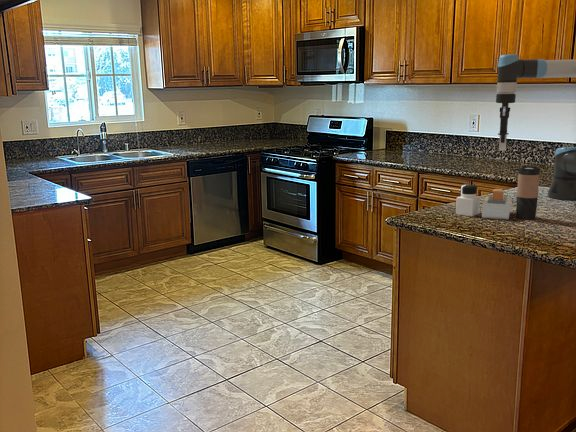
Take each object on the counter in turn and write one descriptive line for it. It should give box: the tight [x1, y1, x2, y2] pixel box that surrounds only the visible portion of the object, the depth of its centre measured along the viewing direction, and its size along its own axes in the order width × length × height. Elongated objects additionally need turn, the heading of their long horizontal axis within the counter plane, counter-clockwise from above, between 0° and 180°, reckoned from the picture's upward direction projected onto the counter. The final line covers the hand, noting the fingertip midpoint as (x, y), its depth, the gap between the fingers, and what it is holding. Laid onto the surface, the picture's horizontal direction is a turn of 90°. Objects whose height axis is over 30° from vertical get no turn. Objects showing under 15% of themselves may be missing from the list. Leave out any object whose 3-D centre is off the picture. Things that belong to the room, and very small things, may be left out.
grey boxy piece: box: [481, 194, 512, 220], centre depth 229 cm, size 10×14×7 cm
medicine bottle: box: [455, 184, 481, 217], centre depth 231 cm, size 7×7×12 cm
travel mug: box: [515, 165, 540, 221], centre depth 221 cm, size 8×8×20 cm
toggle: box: [492, 188, 505, 200], centre depth 230 cm, size 4×3×4 cm
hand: (502, 150), depth 239 cm, fingers closed
